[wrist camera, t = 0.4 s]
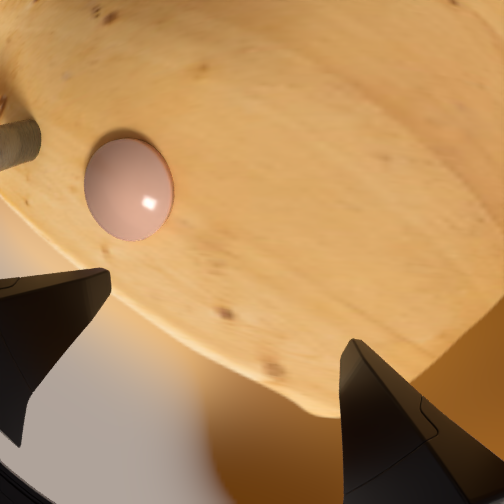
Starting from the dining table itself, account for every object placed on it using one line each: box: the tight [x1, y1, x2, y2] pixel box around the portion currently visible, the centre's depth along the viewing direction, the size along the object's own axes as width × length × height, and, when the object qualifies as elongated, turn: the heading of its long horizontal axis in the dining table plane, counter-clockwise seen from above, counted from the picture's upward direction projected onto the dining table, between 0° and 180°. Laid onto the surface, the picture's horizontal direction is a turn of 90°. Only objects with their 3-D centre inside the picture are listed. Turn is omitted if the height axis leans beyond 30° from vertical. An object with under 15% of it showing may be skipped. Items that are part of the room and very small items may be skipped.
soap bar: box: [84, 138, 174, 241], centre depth 23 cm, size 9×9×1 cm
